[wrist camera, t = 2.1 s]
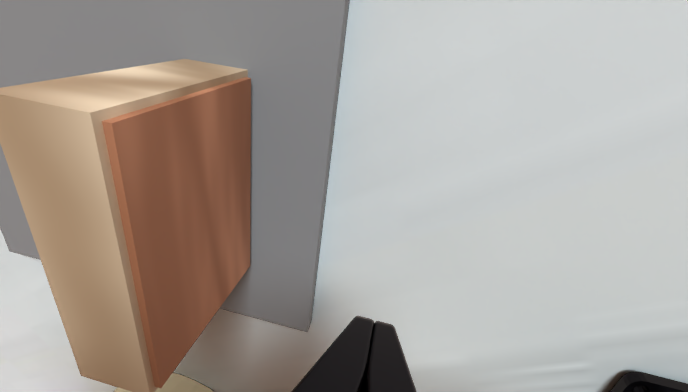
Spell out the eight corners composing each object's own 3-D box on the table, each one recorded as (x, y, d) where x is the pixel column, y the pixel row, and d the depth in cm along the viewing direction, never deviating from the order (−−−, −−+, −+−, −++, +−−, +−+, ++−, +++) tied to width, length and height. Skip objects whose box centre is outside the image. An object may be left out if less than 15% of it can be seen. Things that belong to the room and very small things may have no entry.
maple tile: (253, 70, 11) (100, 114, 6) (252, 266, 15) (157, 399, 10) (185, 58, 12) (-18, 90, 6) (200, 253, 15) (81, 375, 10)
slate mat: (352, -27, 10) (348, -29, 9) (311, 322, 17) (307, 332, 16) (-102, -87, 12) (-126, -92, 12) (21, 244, 19) (9, 251, 18)
